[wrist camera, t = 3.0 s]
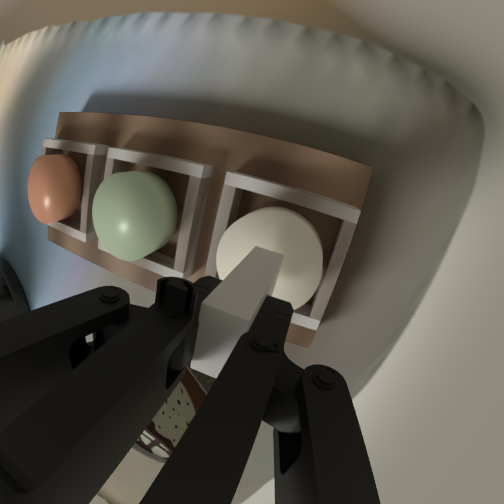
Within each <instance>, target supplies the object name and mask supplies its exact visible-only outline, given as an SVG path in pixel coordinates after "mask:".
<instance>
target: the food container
mask: <svg viewBox="0 0 504 504" xmlns="http://www.w3.org/2000/svg"><path fill="white" fill-rule="evenodd" d="M207 394H208V393H207V391H206V390H205V389H204V387H203V386H202V385H201V383H200V382H199V381H198V379H197V378H196V376H195V375H194V374H193V372H192V371H191V369H190V368H189V367H188V365H186V369H185V374H184V376H183V378H182V379H181V381H180V382H179V384H178V385H177V386H176V388H175V389H174V391H173V392H172V393H171V395H170V396H169V397H168V399H167V400H166V402H165V403H164V404H163V406H162V407H161V408H160V410H159V411H158V412H157V414H156V415H155V417H154V418H153V419H152V421H151V422H150V423H149V425H148V426H147V427H146V429H145V430H144V431H143V433H142V434H141V436H140V437H139V438H138V440H137V441H136V442H135V444H134V445H133V446H132V448H133V449H135V450H136V451H138V452H139V453H141V454H143V455H145V456H146V457H148V458H150V459H153V460H155V461H157V462H160V463H163V464H165V463H166V461H167V460H168V458H169V456H170V455H171V453H172V452H173V450H174V448H175V447H176V445H177V443H178V442H179V440H180V439H181V437H182V435H183V434H184V432H185V430H186V429H187V427H188V425H189V424H190V422H191V420H192V419H193V417H194V415H195V414H196V412H197V410H198V409H199V407H200V405H201V404H202V402H203V400H204V399H205V397H206V395H207Z"/></svg>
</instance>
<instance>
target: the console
mask: <svg viewBox="0 0 504 504" xmlns="http://www.w3.org/2000/svg"><path fill="white" fill-rule="evenodd" d="M57 154H66V155H69V156H71V157H72V158H73V159H74V160H75V162H76V164H77V166H78V168H79V171H80V175H81V182H82V193H81V199H80V203H79V206H78V208H77V210H76V212H75V213H74V214H73V215H72V216H71V217H69V218H66V219H63V220H59V221H56V222H52V223H49V224H47V225H48V240H50V241H52V242H53V243H55V244H57V245H59V246H61V247H63V248H65V249H67V250H69V251H70V252H72V253H74V254H76V255H78V256H80V257H82V258H84V259H86V260H88V261H90V262H92V263H94V264H96V265H98V266H100V267H103V268H105V269H107V270H109V271H111V272H113V273H115V274H117V275H119V276H122V277H124V278H126V279H128V280H130V281H133V282H135V283H137V284H139V285H141V286H144V287H146V288H148V289H151V290H153V291H155V292H156V289H157V280H158V279H160V278H163V277H180V278H183V279H187V280H188V281H190V282H192V283H194V282H195V281H197V280H198V279H199V278H201V277H205V276H208V275H209V276H212V277H215V278H218V279H220V278H219V275H218V271H217V266H216V254H217V248H218V245H219V242H220V240H221V238H222V236H223V234H224V233H225V231H226V230H227V229H228V228H229V227H230V226H231V225H232V224H233V223H234V222H236V221H237V220H239V219H240V218H242V217H244V216H245V215H247V214H249V213H251V212H253V211H255V210H257V209H260V208H263V207H270V206H278V207H284V208H288V209H291V210H294V211H296V212H298V213H299V214H301V215H302V216H304V217H305V218H306V219H307V220H308V221H309V222H310V223H311V224H312V225H313V226H314V228H315V229H316V231H317V232H318V235H319V237H320V239H321V243H322V248H323V265H322V275H321V279H320V283H319V285H318V287H317V289H316V291H315V293H314V294H313V296H312V297H311V298H310V299H309V300H308V301H307V302H306V303H305V304H304V305H302V306H301V307H299V308H297V309H295V310H294V311H293V315H292V319H291V322H290V326H289V329H288V333H287V336H286V340H285V341H287V342H291V343H294V344H297V345H300V346H303V347H306V348H309V346H310V344H311V342H312V340H313V337H314V335H315V333H316V331H317V328H318V326H319V324H320V321H321V319H322V317H323V314H324V312H325V309H326V307H327V304H328V302H329V299H330V297H331V294H332V292H333V289H334V287H335V284H336V282H337V279H338V276H339V274H340V271H341V269H342V266H343V263H344V260H345V258H346V255H347V252H348V249H349V246H350V244H351V241H352V238H353V235H354V232H355V229H356V226H357V223H358V220H359V217H360V214H361V210H362V207H363V204H364V201H365V198H366V194H367V191H368V187H369V184H370V181H371V177H372V174H373V170H374V168H372V167H370V166H367V165H364V164H361V163H358V162H355V161H352V160H349V159H346V158H343V157H340V156H337V155H334V154H330V153H327V152H324V151H320V150H317V149H313V148H310V147H306V146H303V145H299V144H295V143H291V142H288V141H284V140H280V139H276V138H271V137H267V136H263V135H258V134H254V133H249V132H245V131H240V130H235V129H230V128H225V127H219V126H213V125H208V124H202V123H195V122H189V121H182V120H174V119H167V118H158V117H149V116H139V115H127V114H112V113H90V112H60V114H59V118H58V124H57V129H56V135H55V139H43V145H42V153H41V156H43V155H57ZM130 171H150V172H153V173H155V174H157V175H159V176H160V177H161V178H163V179H164V180H165V181H166V183H167V184H168V185H169V187H170V188H171V190H172V192H173V194H174V197H175V199H176V204H177V210H178V218H177V225H176V229H175V231H174V234H173V236H172V238H171V239H170V240H169V242H168V243H167V244H166V245H165V246H163V247H162V248H160V249H158V250H156V251H154V252H152V253H150V254H148V255H146V256H145V257H143V258H141V259H138V260H135V261H124V260H121V259H118V258H116V257H114V256H113V255H112V254H110V253H109V252H108V251H107V250H106V249H105V248H104V246H103V245H102V244H101V242H100V240H99V238H98V236H97V234H96V231H95V228H94V224H93V218H92V207H93V200H94V196H95V194H96V191H97V189H98V187H99V186H100V184H101V183H102V182H103V181H104V180H105V179H106V178H107V177H109V176H110V175H112V174H114V173H118V172H130Z"/></svg>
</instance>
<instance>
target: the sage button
mask: <svg viewBox="0 0 504 504" xmlns="http://www.w3.org/2000/svg"><path fill="white" fill-rule="evenodd" d="M92 218H93V224H94V228H95V231H96V234H97V236H98V238H99V240H100V242H101V244H102V245H103V246H104V248H105V249H106V250H107V251H108V252H109V253H110V254H112V255H113V256H114V257H116V258H118V259H121V260H124V261H135V260H138V259H141V258H143V257H145V256H146V255H148V254H150V253H152V252H154V251H156V250H158V249H160V248H162V247H163V246H165V245H166V244H167V243H168V242H169V240H170V239H171V238H172V236H173V234H174V231H175V229H176V225H177V218H178V210H177V204H176V199H175V197H174V194H173V192H172V190H171V188H170V187H169V185H168V184H167V183H166V181H165V180H164V179H163V178H161V177H160V176H159V175H157V174H155V173H153V172H150V171H130V172H118V173H114V174H112V175H110V176H109V177H107V178H106V179H105V180H104V181H103V182H102V183H101V184H100V186H99V187H98V189H97V191H96V194H95V196H94V200H93V207H92Z"/></svg>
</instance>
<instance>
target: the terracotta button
mask: <svg viewBox="0 0 504 504" xmlns="http://www.w3.org/2000/svg"><path fill="white" fill-rule="evenodd" d="M27 191H28V200H29V204H30V207H31V210H32V212H33V214H34V216H35V217H36V219H37V220H38V221H39V222H41V223H43V224H49V223H52V222H56V221H59V220H63V219H66V218H69V217H71V216H72V215H73V214H74V213H75V212H76V210H77V208H78V206H79V203H80V199H81V193H82V182H81V175H80V171H79V168H78V166H77V164H76V162H75V160H74V159H73V158H72V157H71V156H69V155H66V154H57V155H43V156H40V157H38V158H37V159H36V160H35V162H34V163H33V165H32V167H31V169H30V173H29V177H28V186H27Z"/></svg>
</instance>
